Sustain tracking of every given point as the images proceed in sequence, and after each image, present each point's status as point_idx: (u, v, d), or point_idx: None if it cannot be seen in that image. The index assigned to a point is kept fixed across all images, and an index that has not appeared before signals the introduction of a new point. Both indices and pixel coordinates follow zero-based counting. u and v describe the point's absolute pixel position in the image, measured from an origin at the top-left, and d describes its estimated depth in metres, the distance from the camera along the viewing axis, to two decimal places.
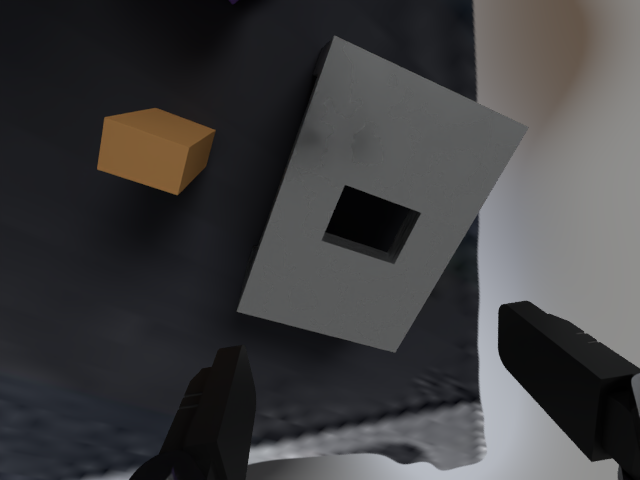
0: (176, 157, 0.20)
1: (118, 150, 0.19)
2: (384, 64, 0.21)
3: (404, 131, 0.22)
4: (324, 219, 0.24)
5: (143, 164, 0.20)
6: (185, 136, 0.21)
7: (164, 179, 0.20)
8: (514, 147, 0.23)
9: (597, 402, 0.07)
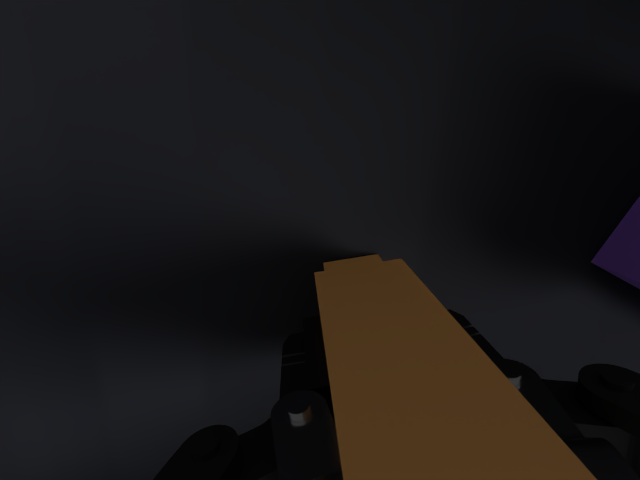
0: None
1: None
2: None
3: None
4: None
5: None
6: None
7: None
8: None
9: None
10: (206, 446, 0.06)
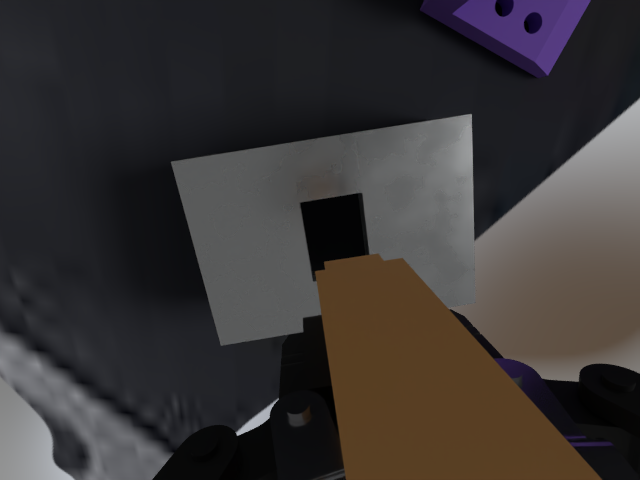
0: None
1: None
2: (468, 165, 0.24)
3: (428, 213, 0.25)
4: (321, 193, 0.24)
5: None
6: None
7: None
8: (457, 304, 0.27)
9: None
10: (205, 446, 0.06)
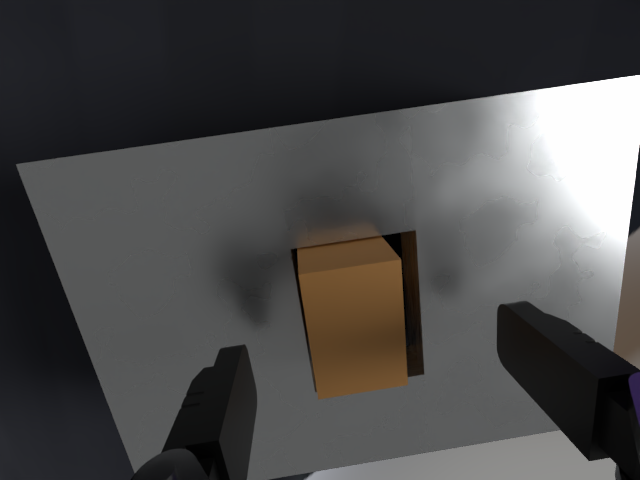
0: (383, 376, 0.11)
1: (353, 295, 0.10)
2: (627, 179, 0.12)
3: (540, 270, 0.13)
4: (334, 231, 0.12)
5: (346, 338, 0.11)
6: None
7: (336, 373, 0.11)
8: None
9: (594, 401, 0.07)
10: None
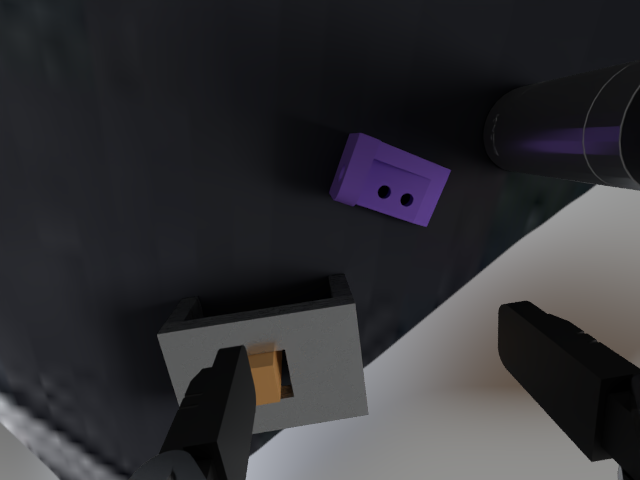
0: (271, 398, 0.35)
1: (259, 375, 0.34)
2: (356, 332, 0.36)
3: (331, 361, 0.37)
4: (257, 350, 0.36)
5: (258, 387, 0.34)
6: (279, 379, 0.37)
7: (256, 398, 0.35)
8: (355, 415, 0.39)
9: (597, 402, 0.07)
10: None
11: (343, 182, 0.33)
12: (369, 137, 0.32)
